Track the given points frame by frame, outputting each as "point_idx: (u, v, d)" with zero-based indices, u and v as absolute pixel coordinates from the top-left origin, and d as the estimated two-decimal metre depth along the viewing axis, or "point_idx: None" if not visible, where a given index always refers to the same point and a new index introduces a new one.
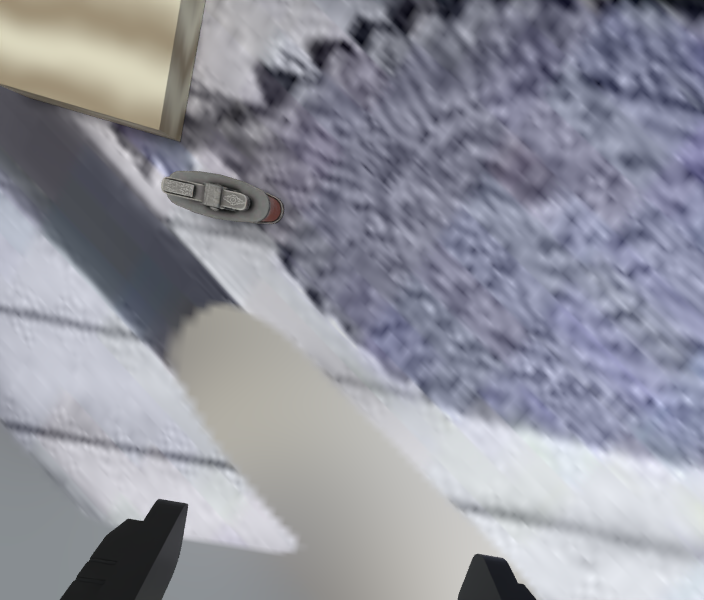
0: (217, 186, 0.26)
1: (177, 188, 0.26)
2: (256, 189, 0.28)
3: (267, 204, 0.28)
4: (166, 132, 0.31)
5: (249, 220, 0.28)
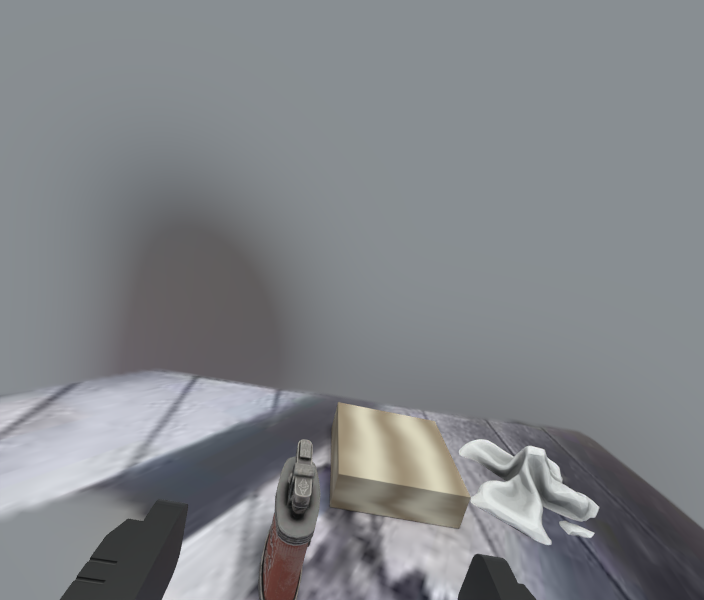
0: (313, 472, 0.27)
1: (304, 447, 0.29)
2: (313, 524, 0.25)
3: (300, 535, 0.24)
4: (337, 484, 0.36)
5: (279, 518, 0.25)
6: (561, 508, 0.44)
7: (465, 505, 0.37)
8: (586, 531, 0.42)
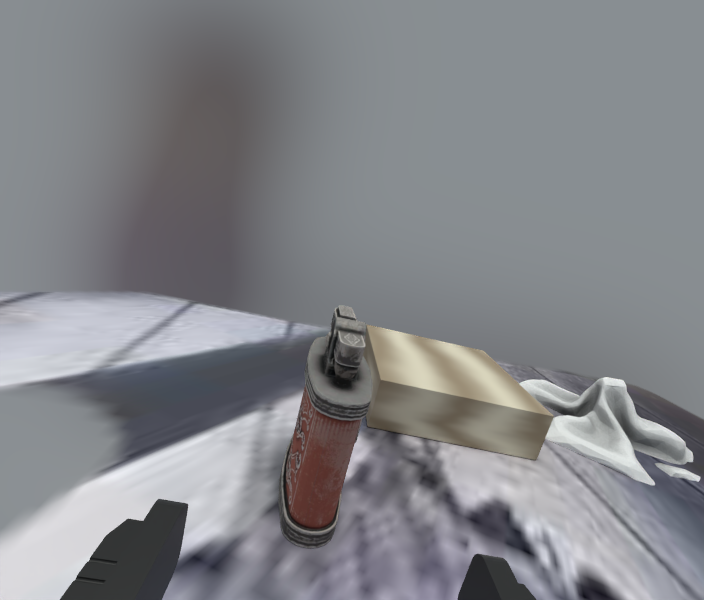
0: (364, 327, 0.18)
1: (345, 310, 0.20)
2: (368, 395, 0.16)
3: (350, 402, 0.15)
4: (378, 395, 0.27)
5: (315, 383, 0.16)
6: (652, 449, 0.35)
7: (546, 427, 0.28)
8: (691, 474, 0.33)
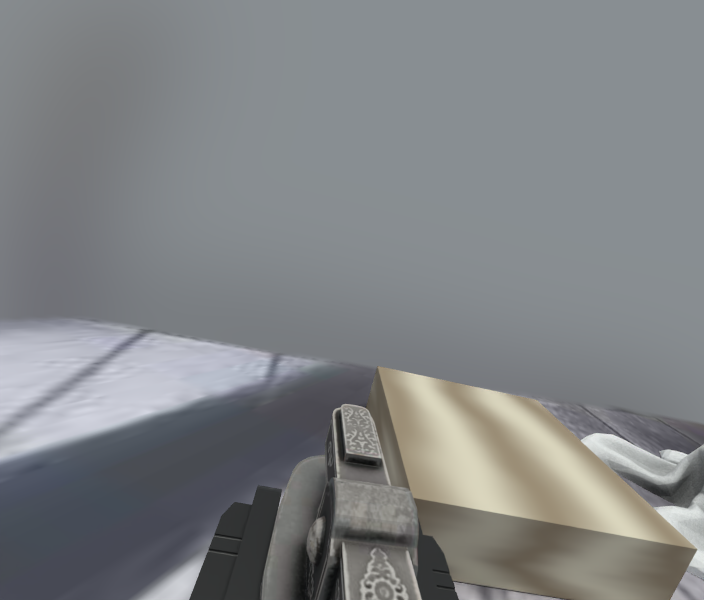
0: (413, 517, 0.07)
1: (356, 426, 0.09)
2: None
3: None
4: None
5: None
6: None
7: (683, 566, 0.17)
8: None
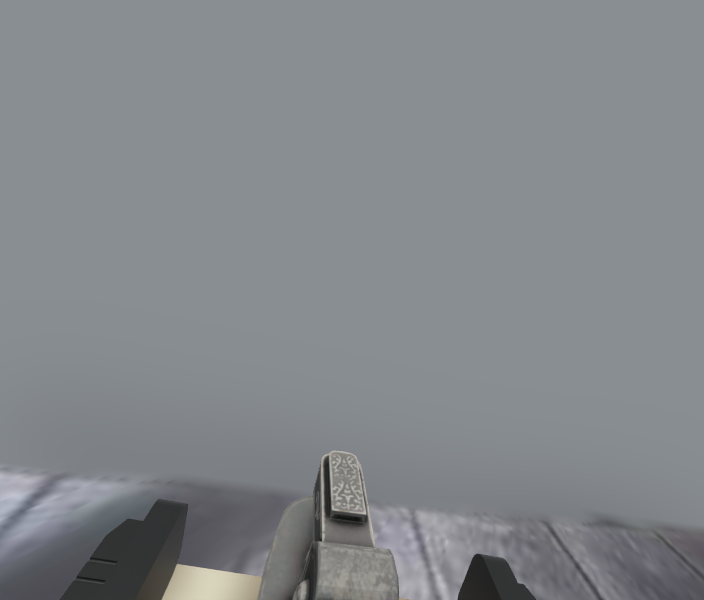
0: (393, 585, 0.07)
1: (343, 477, 0.09)
2: None
3: None
4: None
5: None
6: None
7: None
8: None
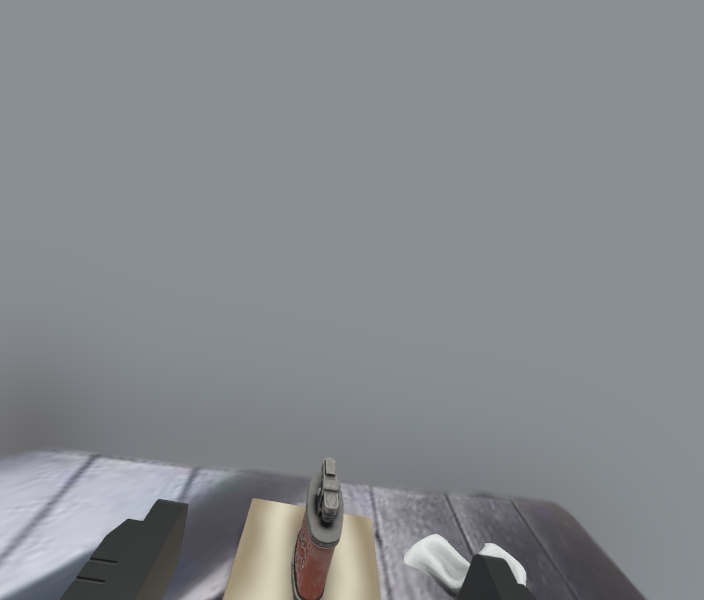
0: (339, 487, 0.32)
1: (329, 465, 0.35)
2: (340, 530, 0.30)
3: (329, 540, 0.29)
4: None
5: (311, 525, 0.30)
6: None
7: None
8: None
